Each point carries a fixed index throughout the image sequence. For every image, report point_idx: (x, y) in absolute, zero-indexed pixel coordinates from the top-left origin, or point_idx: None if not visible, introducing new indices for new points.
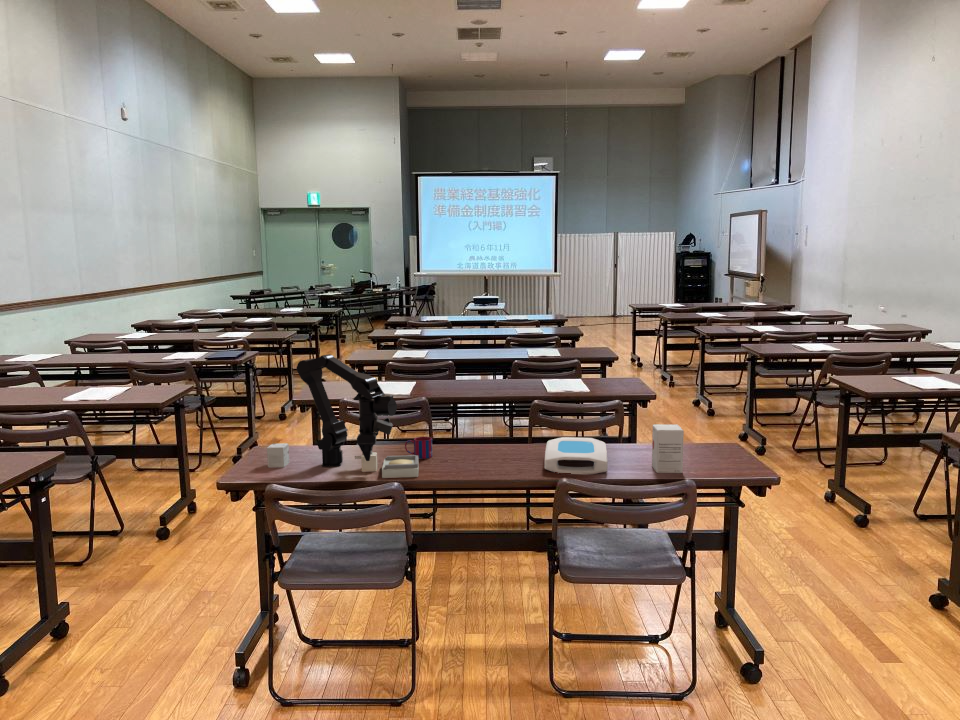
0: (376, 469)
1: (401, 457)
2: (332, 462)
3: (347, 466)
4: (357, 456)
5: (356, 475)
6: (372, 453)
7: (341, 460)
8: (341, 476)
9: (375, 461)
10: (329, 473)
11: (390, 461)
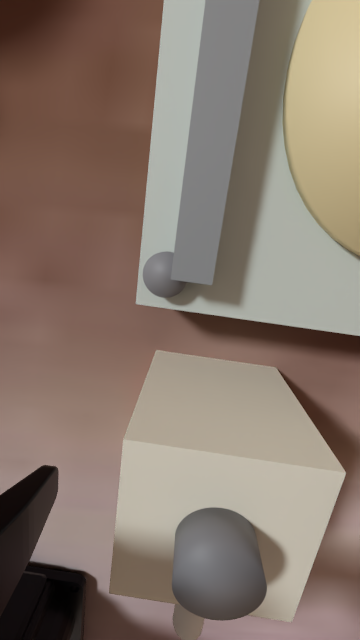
0: (263, 369)
1: (252, 34)
2: (66, 637)
3: (93, 534)
4: (202, 618)
5: (337, 503)
6: (186, 499)
7: (36, 599)
8: (321, 579)
9: (308, 424)
10: (228, 625)
11: (349, 243)
